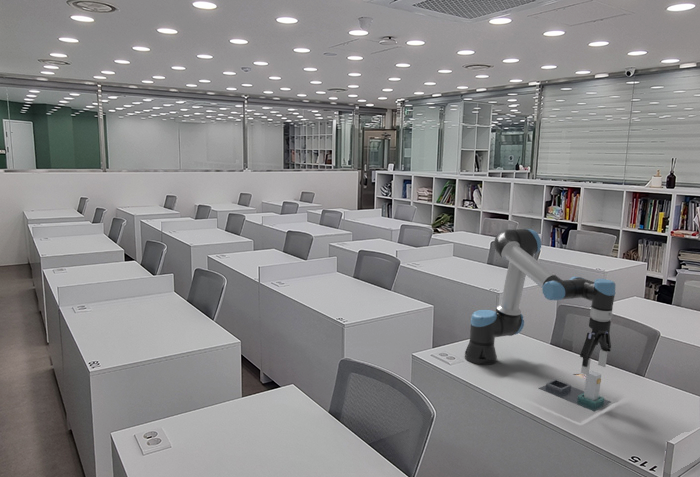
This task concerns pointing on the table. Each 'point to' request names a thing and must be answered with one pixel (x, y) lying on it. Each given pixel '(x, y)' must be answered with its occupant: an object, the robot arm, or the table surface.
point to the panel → (573, 395)
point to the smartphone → (580, 375)
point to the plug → (592, 386)
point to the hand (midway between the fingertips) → (593, 369)
